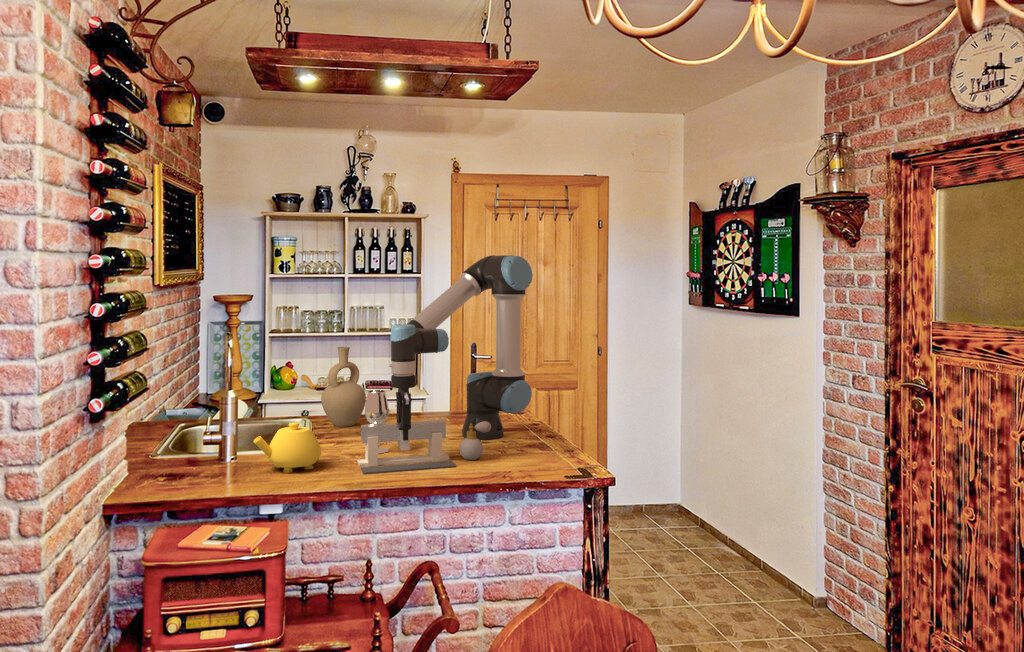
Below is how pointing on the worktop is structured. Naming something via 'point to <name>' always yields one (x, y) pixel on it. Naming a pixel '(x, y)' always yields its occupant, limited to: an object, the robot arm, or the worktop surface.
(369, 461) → the rack
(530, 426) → the worktop surface
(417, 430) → the rail
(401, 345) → the robot arm
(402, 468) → the mat
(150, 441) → the worktop surface
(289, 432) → the teapot
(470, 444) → the perfume bottle
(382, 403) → the wineglass
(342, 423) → the vase
